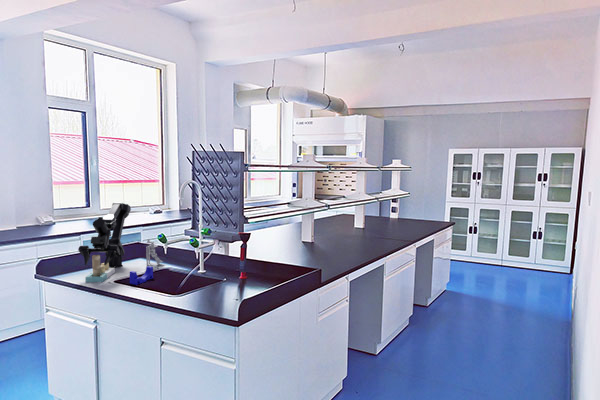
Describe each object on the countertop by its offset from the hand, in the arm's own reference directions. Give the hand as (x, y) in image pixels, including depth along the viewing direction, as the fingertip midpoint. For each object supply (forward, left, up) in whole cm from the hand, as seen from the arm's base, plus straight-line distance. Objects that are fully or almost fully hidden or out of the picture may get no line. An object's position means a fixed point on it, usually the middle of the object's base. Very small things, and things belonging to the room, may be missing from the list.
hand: (95, 264), depth 197 cm
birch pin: (-1, -1, -8) cm, 8 cm away
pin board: (-3, -5, -8) cm, 10 cm away
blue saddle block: (-19, +13, -8) cm, 25 cm away
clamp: (-34, -14, -8) cm, 37 cm away
